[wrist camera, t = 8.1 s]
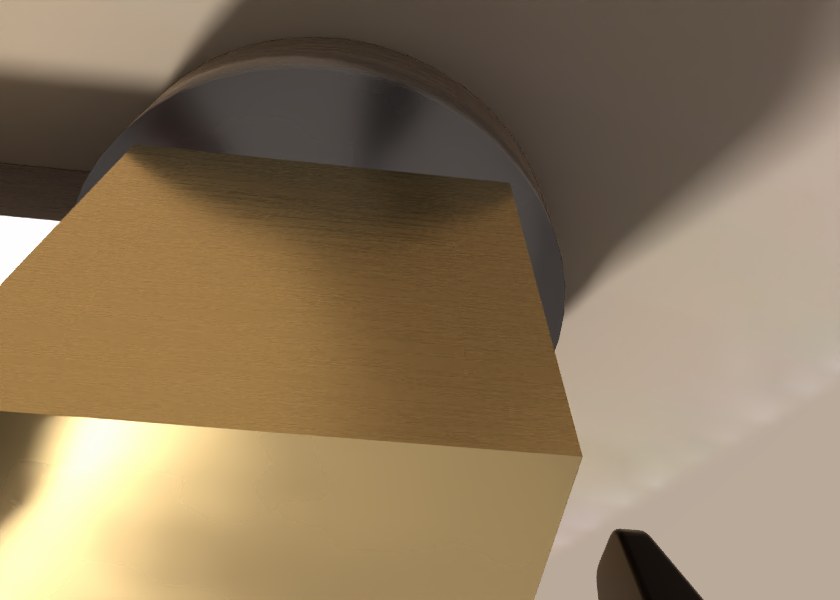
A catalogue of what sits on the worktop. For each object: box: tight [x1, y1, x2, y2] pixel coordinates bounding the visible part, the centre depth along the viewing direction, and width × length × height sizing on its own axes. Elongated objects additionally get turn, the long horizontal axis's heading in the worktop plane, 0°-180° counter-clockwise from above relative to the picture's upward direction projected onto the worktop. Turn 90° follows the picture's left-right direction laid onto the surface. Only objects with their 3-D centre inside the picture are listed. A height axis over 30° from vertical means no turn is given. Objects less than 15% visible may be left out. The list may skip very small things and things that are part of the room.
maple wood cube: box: [0, 144, 583, 600], centre depth 10 cm, size 6×6×6 cm
